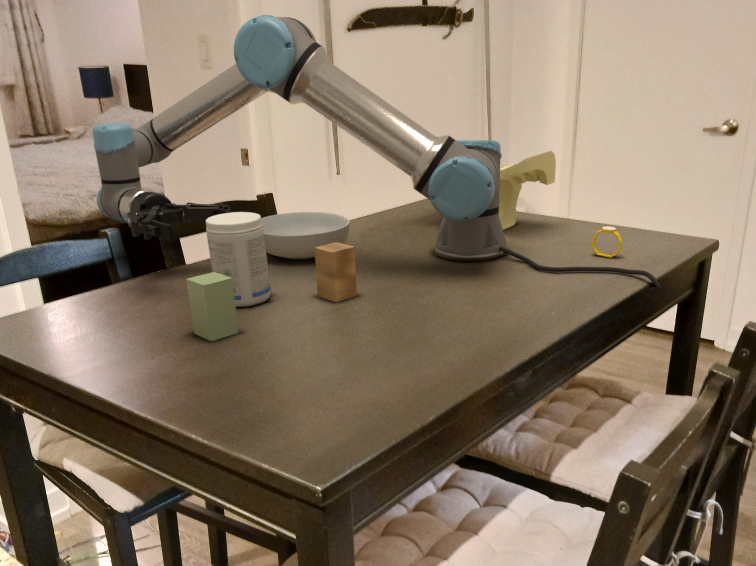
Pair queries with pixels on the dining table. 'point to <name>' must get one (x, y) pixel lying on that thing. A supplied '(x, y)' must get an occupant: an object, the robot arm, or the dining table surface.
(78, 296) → the dining table surface
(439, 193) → the robot arm
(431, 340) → the dining table surface
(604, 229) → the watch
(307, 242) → the serving bowl
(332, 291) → the beech block
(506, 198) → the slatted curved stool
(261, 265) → the supplement tub
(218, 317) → the sage block
